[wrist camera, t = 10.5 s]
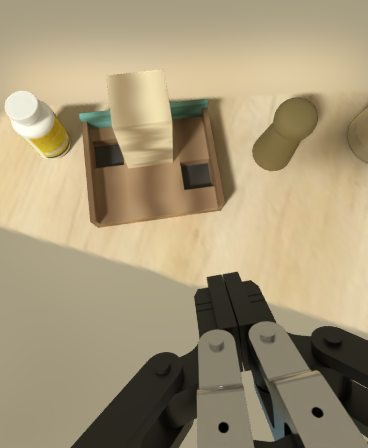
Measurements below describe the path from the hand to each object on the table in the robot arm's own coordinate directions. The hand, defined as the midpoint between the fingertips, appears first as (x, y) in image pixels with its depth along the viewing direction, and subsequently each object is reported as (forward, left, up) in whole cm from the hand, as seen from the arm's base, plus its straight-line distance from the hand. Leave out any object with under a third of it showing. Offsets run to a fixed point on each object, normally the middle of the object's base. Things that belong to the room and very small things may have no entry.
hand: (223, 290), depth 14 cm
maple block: (+3, -21, -26) cm, 34 cm away
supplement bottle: (+17, -25, -28) cm, 41 cm away
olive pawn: (-16, -19, -28) cm, 37 cm away
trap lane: (+3, -18, -28) cm, 33 cm away
